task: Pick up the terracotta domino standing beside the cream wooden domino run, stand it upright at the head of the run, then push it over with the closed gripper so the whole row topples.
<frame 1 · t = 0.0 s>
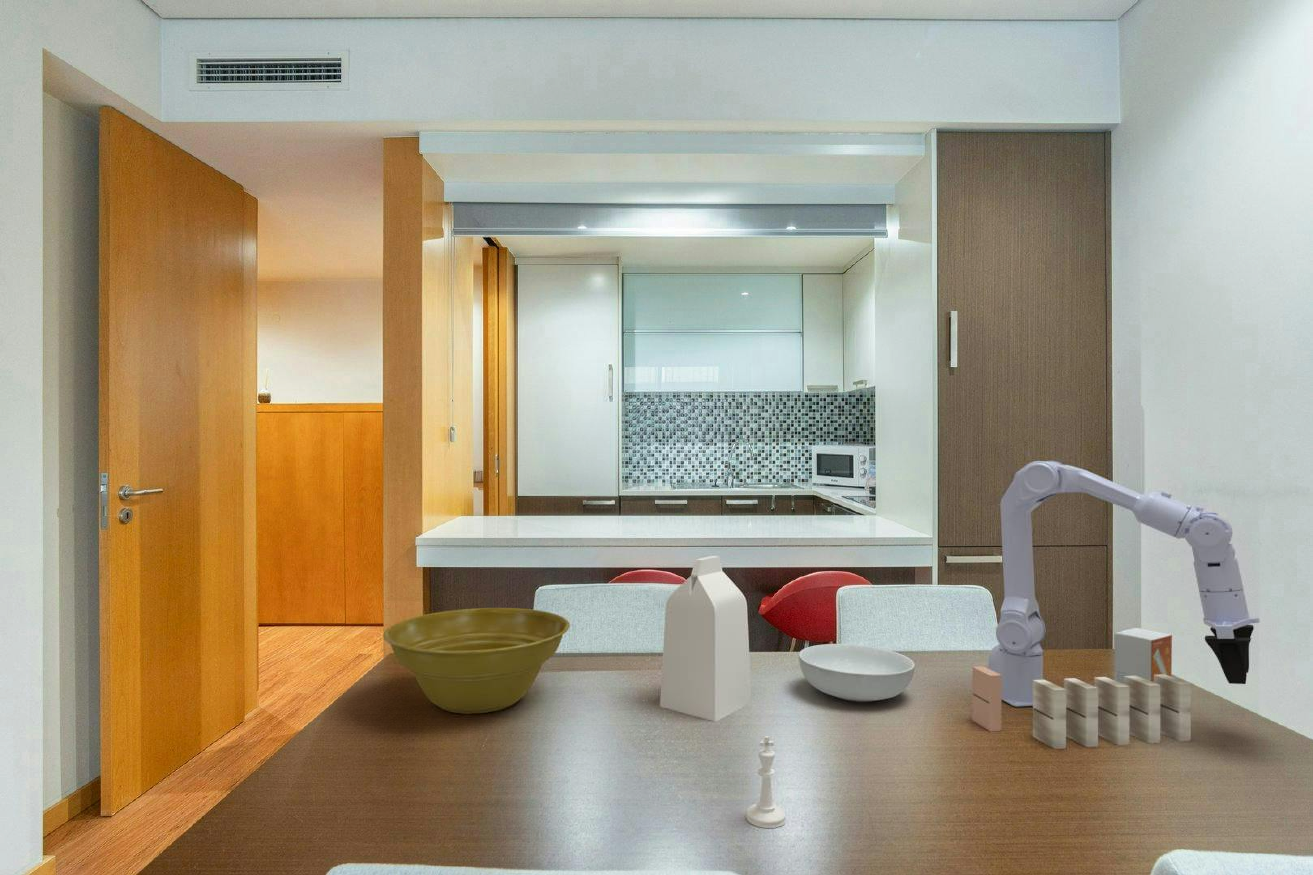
hand: (1238, 677, 117), 11 cm above the table, tool pointing down, fingers open, 7 cm apart
milk: (706, 705, 133), on the table
serving bowl: (855, 695, 140), on the table
domino 3: (1080, 740, 118), on the table
domino 2: (1049, 742, 118), on the table
head domino: (986, 725, 125), on the table
domino 4: (1111, 738, 119), on the table
chess piece: (766, 819, 92), on the table
small box: (1142, 706, 135), on the table
domino 5: (1141, 736, 120), on the table
domino 6: (1171, 734, 121), on the table
planter bowl: (478, 702, 134), on the table
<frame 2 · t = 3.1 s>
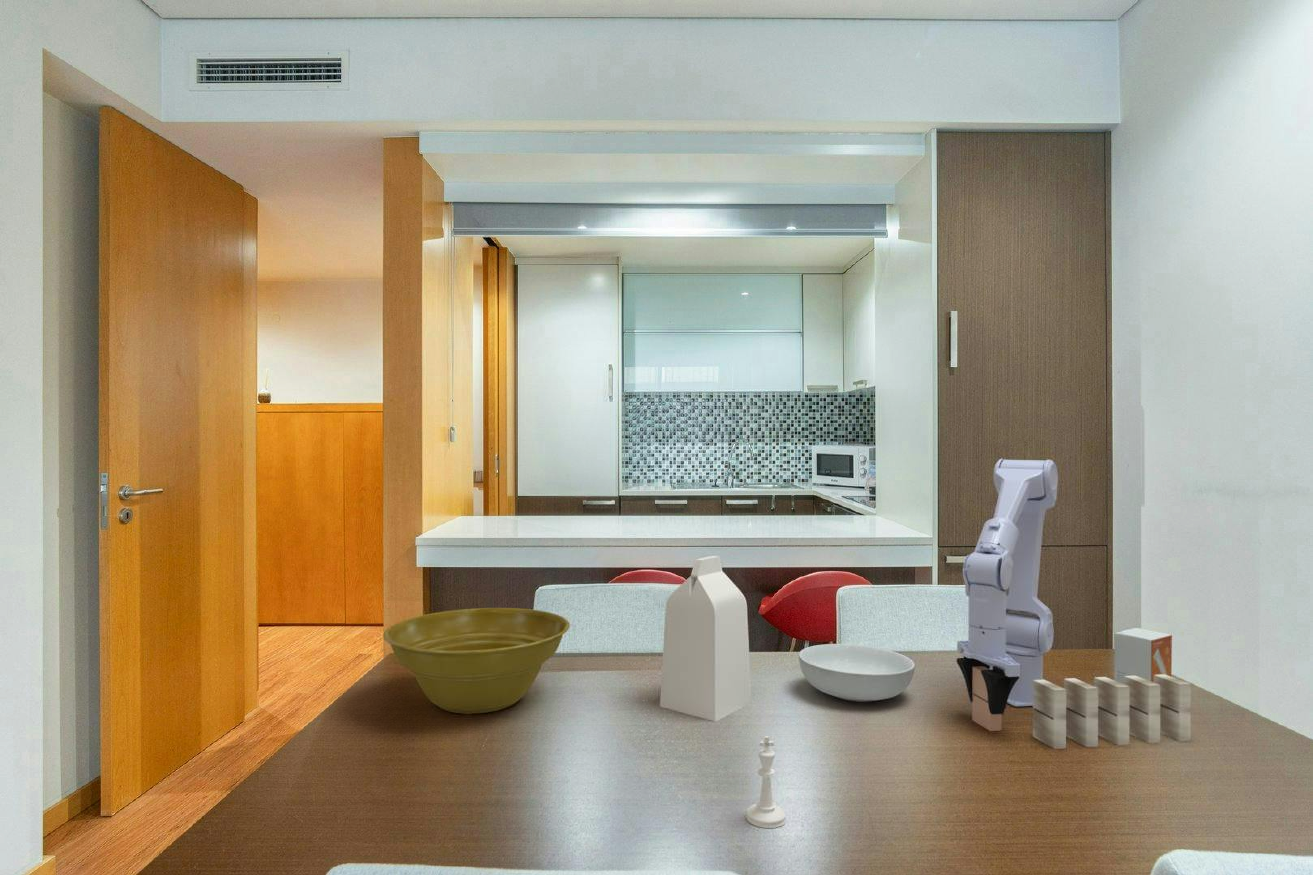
hand: (986, 707, 125), 3 cm above the table, tool pointing down, fingers closed on head domino, 5 cm apart
head domino: (986, 725, 125), on the table, touching gripper
everything else where it was.
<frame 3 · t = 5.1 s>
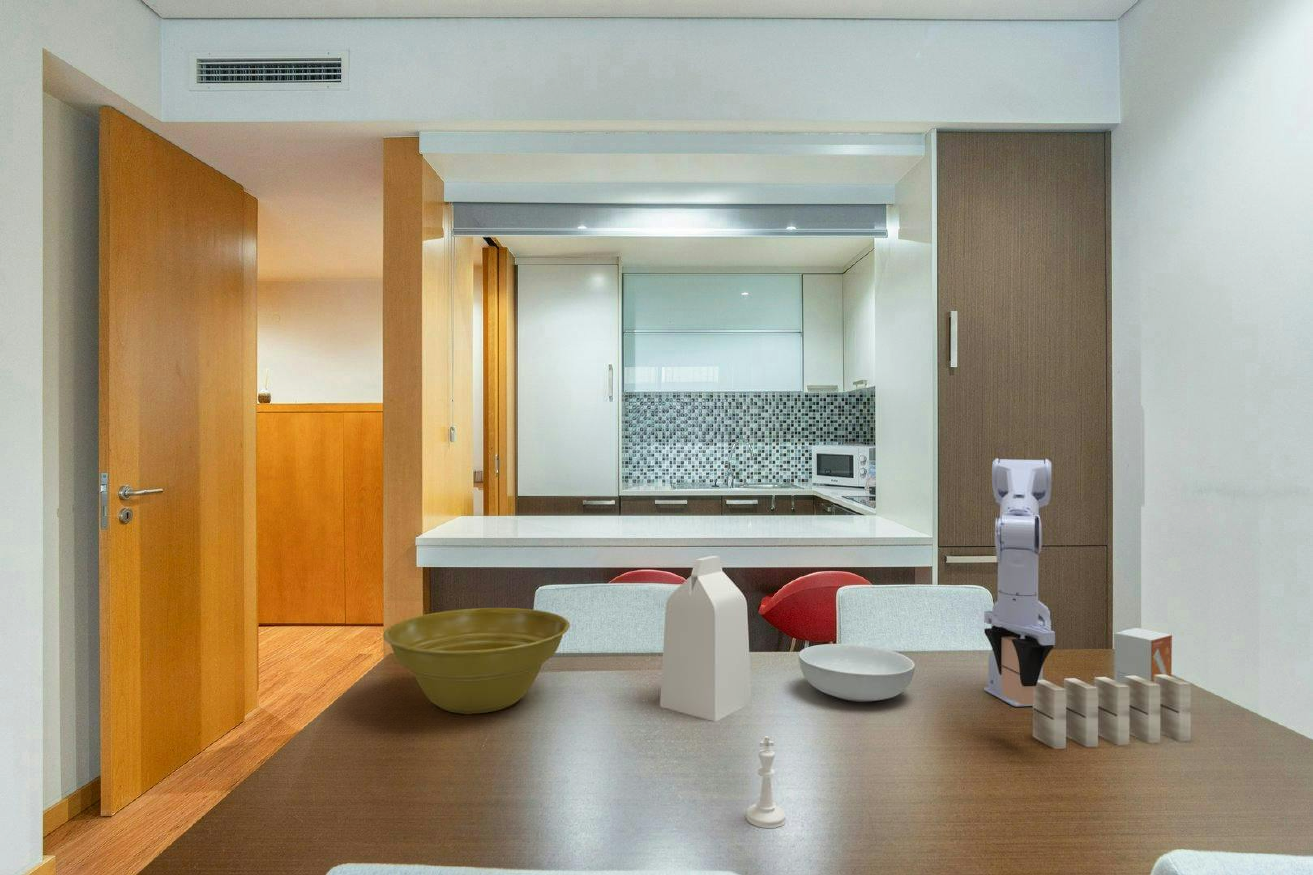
hand: (1017, 679, 117), 10 cm above the table, tool pointing down, fingers closed on head domino, 5 cm apart
head domino: (1017, 698, 117), point 7 cm above the table, touching gripper
everything else where it was.
when the fingers open (4 cm above the table, at t = 7.0 s): head domino drops 1 cm, on the table.
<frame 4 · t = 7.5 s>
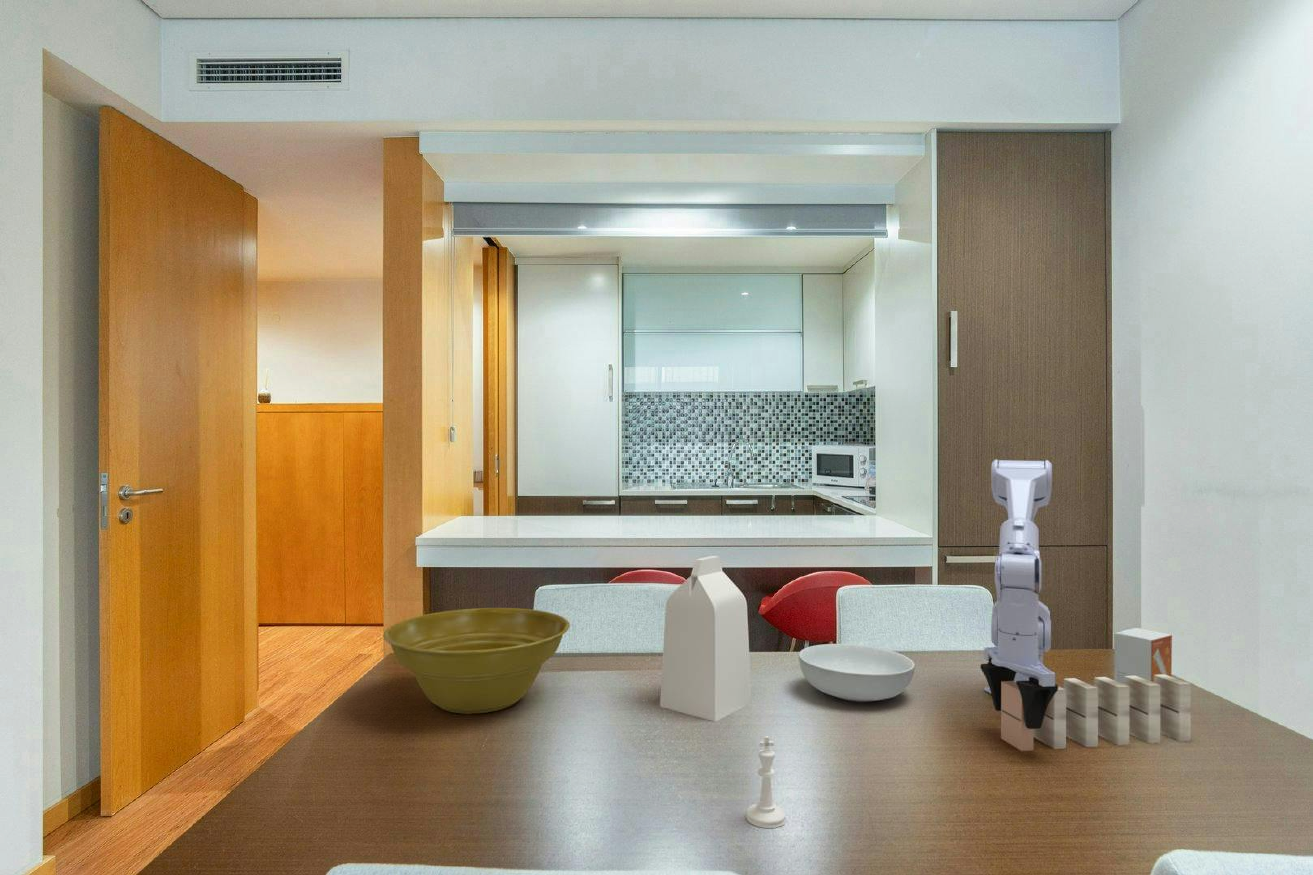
hand: (1017, 718, 117), 4 cm above the table, tool pointing down, fingers open, 7 cm apart
head domino: (1016, 744, 117), on the table
everything else where it was.
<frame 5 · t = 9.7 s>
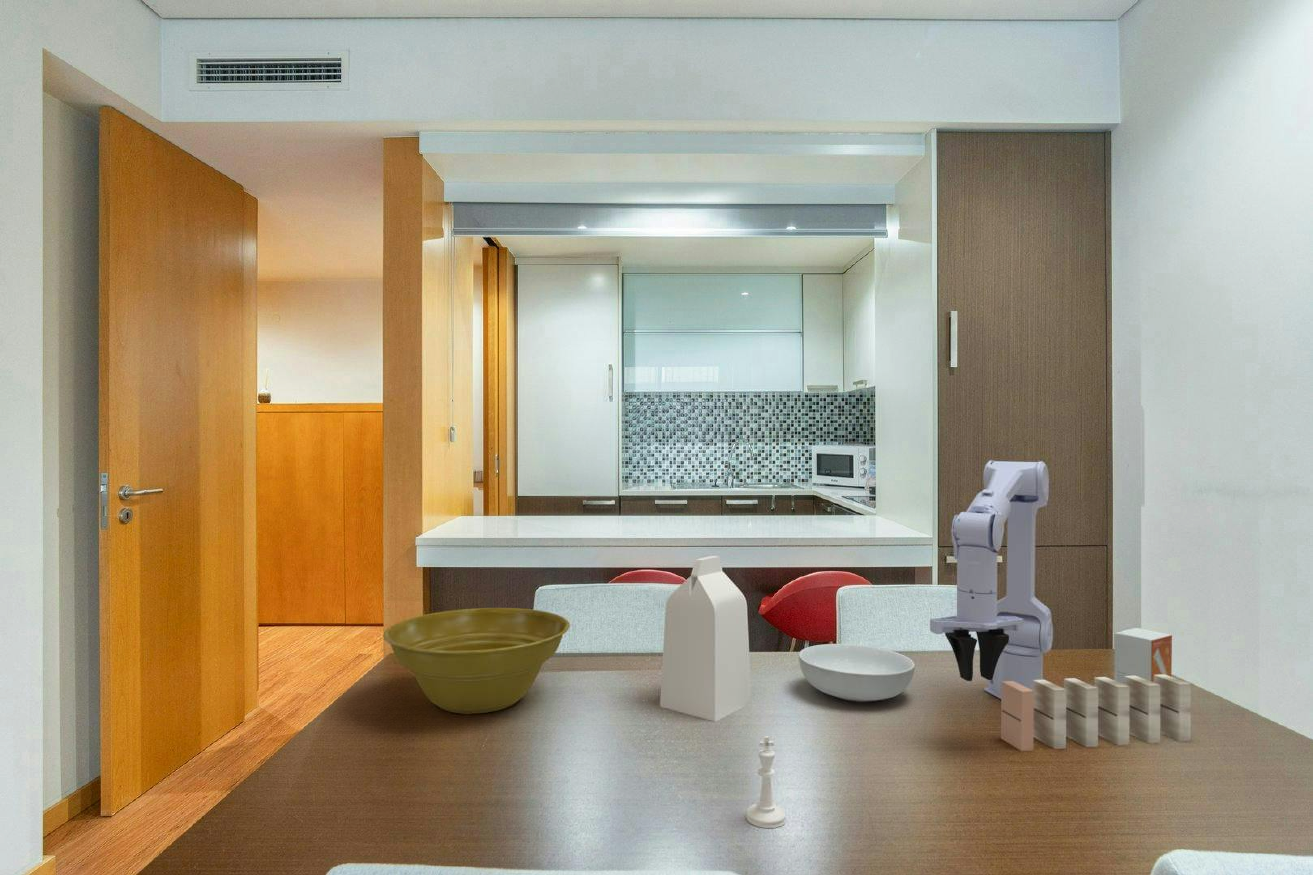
hand: (976, 678, 116), 10 cm above the table, tool pointing down, fingers open, 3 cm apart
nothing on the table moved.
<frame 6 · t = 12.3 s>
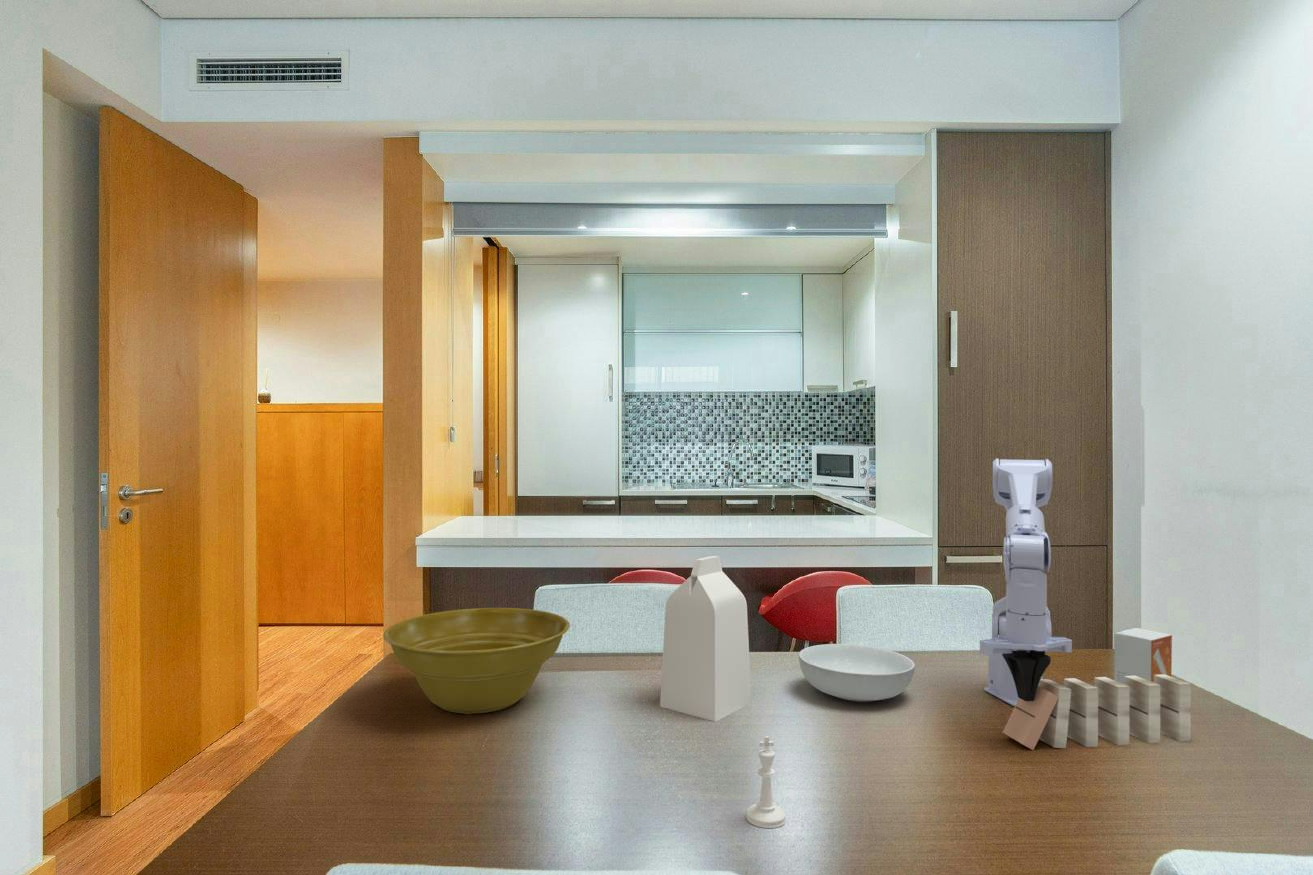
hand: (1025, 699, 117), 7 cm above the table, tool pointing down, fingers closed
domino 2: (1049, 741, 118), on the table, tilted 6°
head domino: (1017, 740, 117), on the table, tilted 28°
everything else where it was.
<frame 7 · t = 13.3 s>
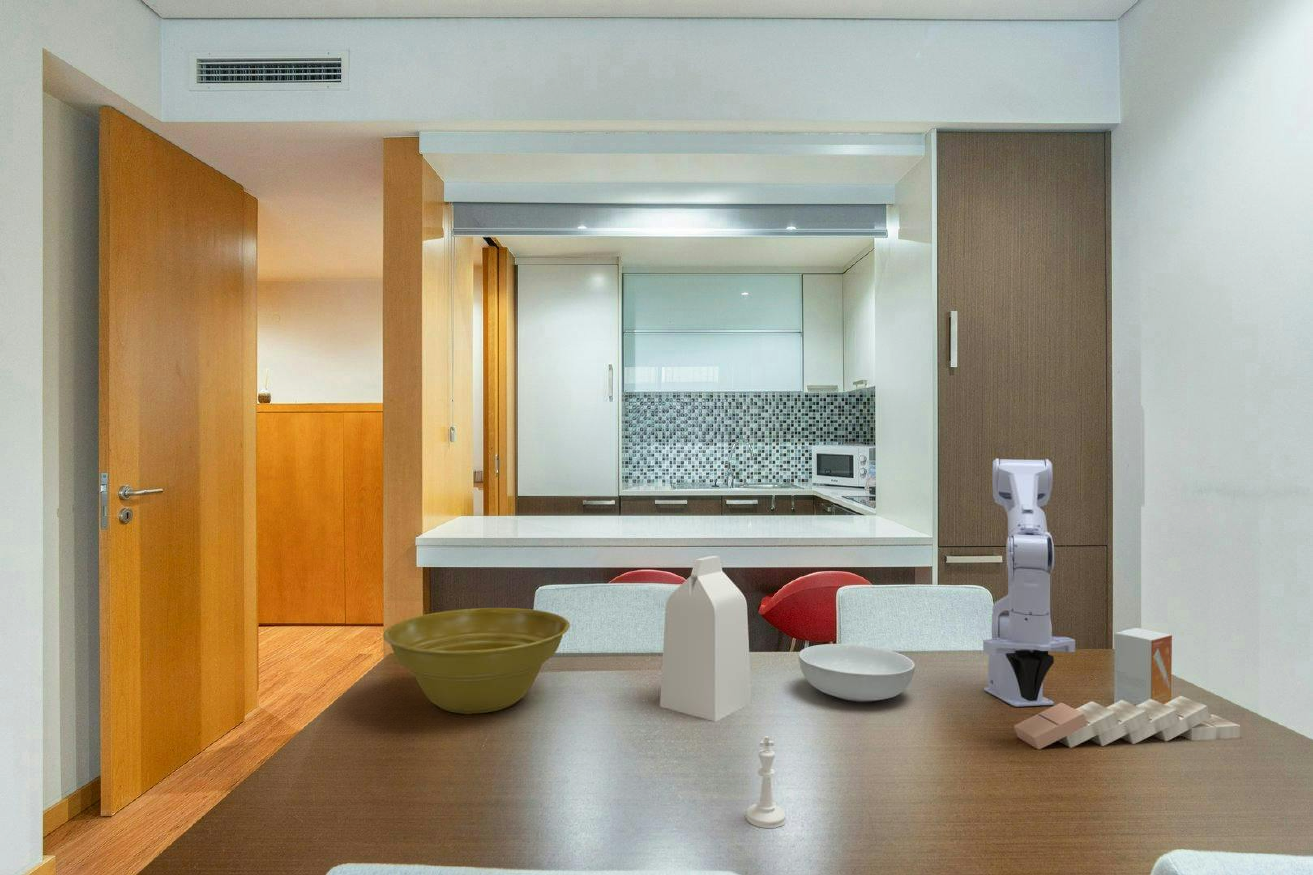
hand: (1029, 698, 117), 7 cm above the table, tool pointing down, fingers closed
domino 3: (1088, 734, 119), point 1 cm above the table, tilted 68°, touching domino 2, domino 4
domino 2: (1057, 735, 118), point 1 cm above the table, tilted 68°, touching domino 3, head domino
head domino: (1026, 737, 117), point 1 cm above the table, tilted 68°, touching domino 2
domino 4: (1119, 732, 119), point 1 cm above the table, tilted 69°, touching domino 3, domino 5
domino 5: (1151, 729, 121), point 1 cm above the table, tilted 68°, touching domino 4
domino 6: (1178, 728, 121), point 1 cm above the table, tilted 90°
everything else where it was.
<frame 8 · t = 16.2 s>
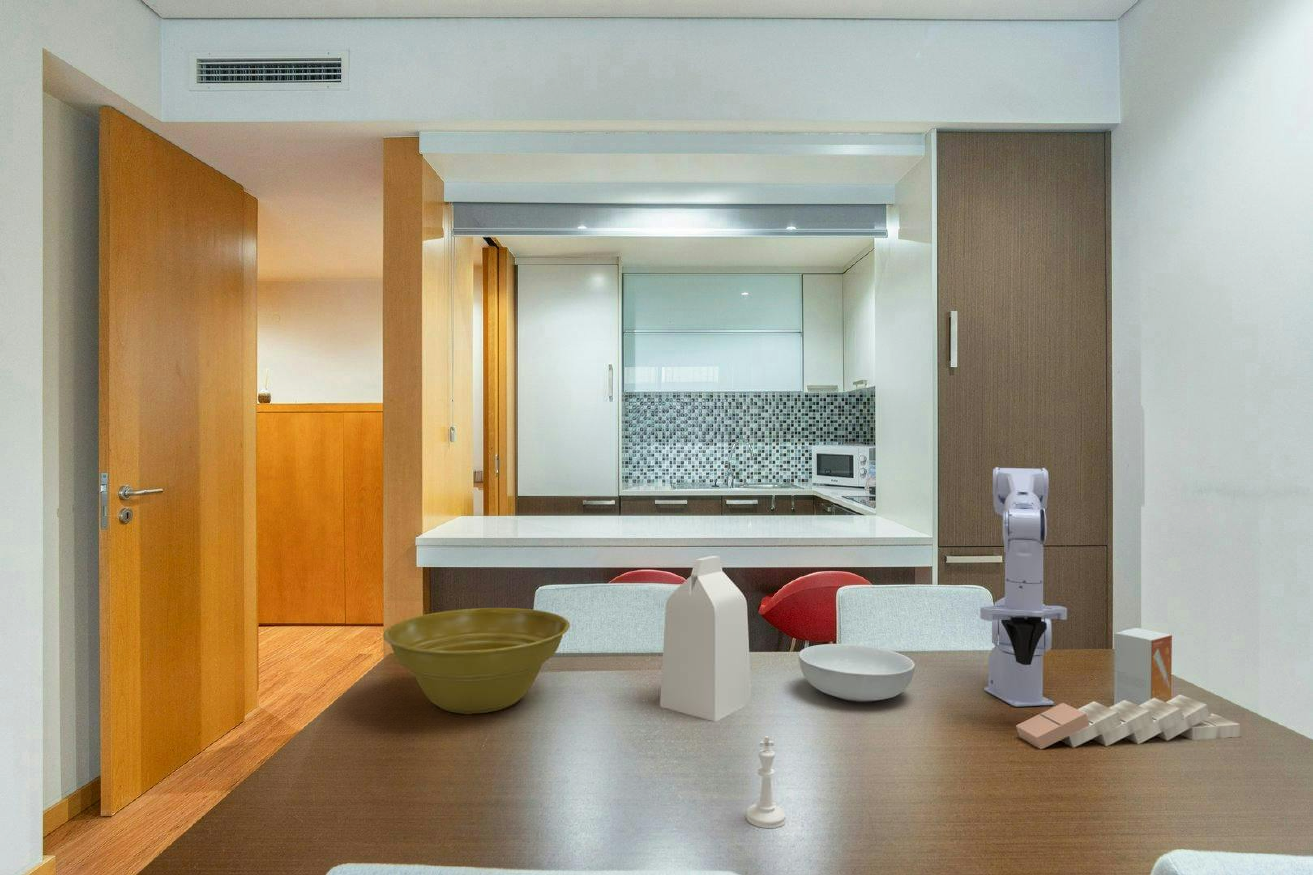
hand: (1023, 663, 124), 10 cm above the table, tool pointing down, fingers closed
domino 5: (1151, 729, 121), point 1 cm above the table, tilted 68°, touching domino 4, domino 6
domino 6: (1179, 728, 122), point 1 cm above the table, tilted 90°, touching domino 5
at the end: head domino inside the target area (1.3 cm from its centre), point 0.9 cm above the table; head domino tilted 69°; domino 6 tilted 90° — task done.
